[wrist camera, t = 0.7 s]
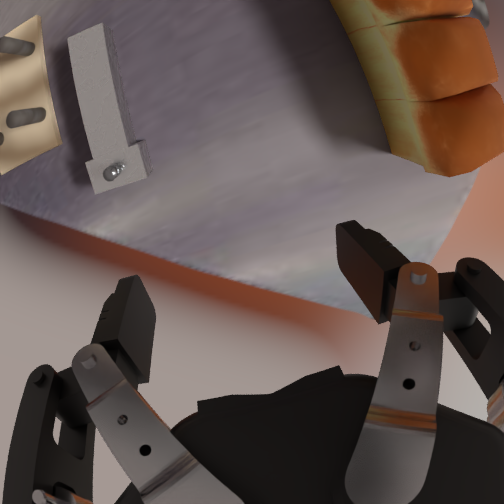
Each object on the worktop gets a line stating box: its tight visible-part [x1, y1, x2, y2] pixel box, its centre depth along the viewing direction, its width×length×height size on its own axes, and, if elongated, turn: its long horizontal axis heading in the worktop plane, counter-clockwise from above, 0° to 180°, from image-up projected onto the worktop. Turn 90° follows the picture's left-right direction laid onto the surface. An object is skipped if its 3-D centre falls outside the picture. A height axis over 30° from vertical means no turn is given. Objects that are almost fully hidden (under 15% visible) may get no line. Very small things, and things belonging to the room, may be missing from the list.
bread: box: [329, 0, 504, 177], centre depth 21 cm, size 25×12×15 cm, turn 26°
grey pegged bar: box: [67, 23, 153, 194], centre depth 24 cm, size 18×6×6 cm, turn 10°
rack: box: [0, 15, 62, 175], centre depth 19 cm, size 18×10×7 cm, turn 10°
